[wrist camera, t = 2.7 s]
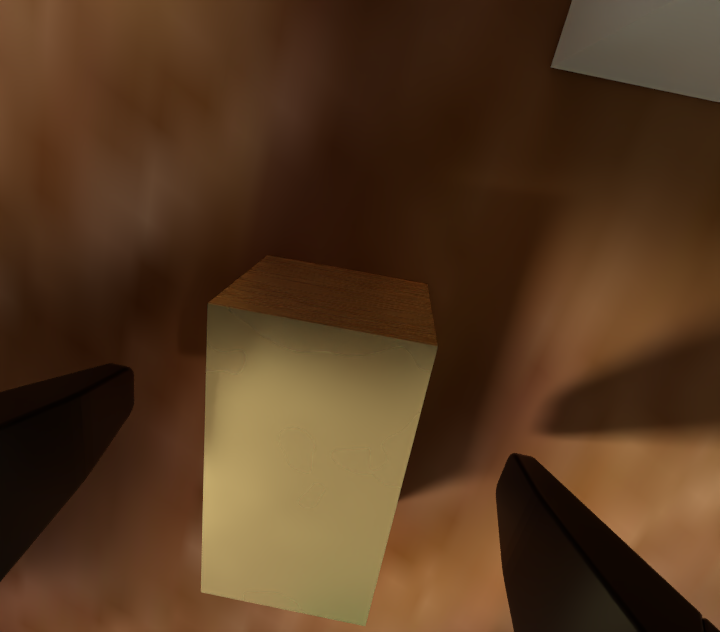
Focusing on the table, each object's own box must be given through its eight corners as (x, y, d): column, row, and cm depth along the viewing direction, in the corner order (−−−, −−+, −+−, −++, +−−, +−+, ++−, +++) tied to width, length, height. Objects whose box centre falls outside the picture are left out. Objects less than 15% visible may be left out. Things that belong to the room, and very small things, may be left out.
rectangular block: (252, 478, 11) (200, 591, 8) (270, 252, 9) (207, 303, 6) (375, 502, 11) (365, 625, 8) (426, 281, 8) (438, 346, 6)
